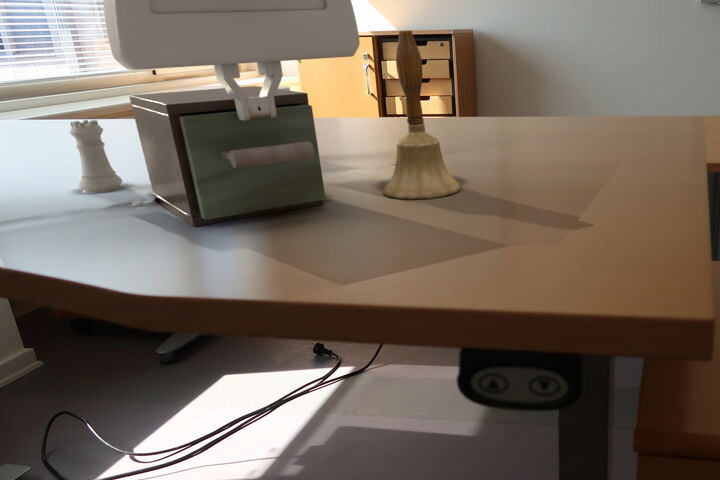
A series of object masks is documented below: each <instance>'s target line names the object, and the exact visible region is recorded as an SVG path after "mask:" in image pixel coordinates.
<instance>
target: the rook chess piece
mask: <svg viewBox="0 0 720 480" xmlns="http://www.w3.org/2000/svg"><path fill="white" fill-rule="evenodd" d="M70 126H71V127H70V130H69V132H68V133H69V134H70V135H71V136H72V137H73V138H75V141H76V145H75V148H76V149H77V150H78V153H79V156H80V164H81V174H80V180H79V182H78V187H79V188H80V189H82V190H83V191H82V193H85V194H99V193H109V192H113V191H118V190H120V189H122V188H123V187H122V186H121V185H122V182H123V179H122V178H121V176H119V175H118V174H116V171H115V170H114V169H113V168H112V165H111V164H110V161H109V159H108V157H107V154H106V151H105V150H106V149H105V142H103V140H102V133H103V131H104V128H103V127H101V126H100V125H99V122H98V120H96V119H90V121H89V120H88V119H84V120H82V122H80V121H79V120H75V121H71V122H70Z"/></svg>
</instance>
